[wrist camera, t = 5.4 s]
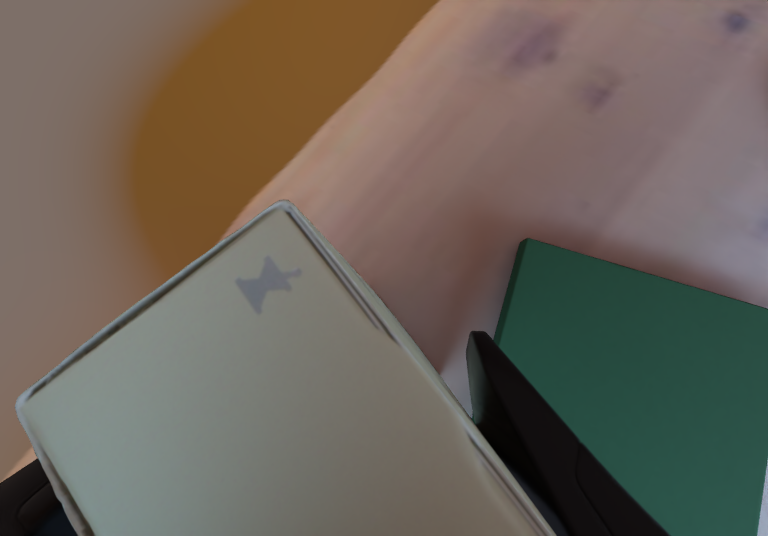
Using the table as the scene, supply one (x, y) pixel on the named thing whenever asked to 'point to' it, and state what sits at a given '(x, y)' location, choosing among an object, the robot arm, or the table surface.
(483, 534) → the cosmetic box
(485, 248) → the table surface
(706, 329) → the green book
